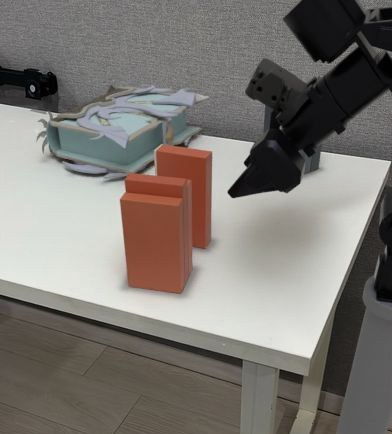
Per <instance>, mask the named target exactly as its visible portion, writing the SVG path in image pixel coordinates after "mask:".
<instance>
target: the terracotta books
mask: <svg viewBox="0 0 392 434" xmlns="http://www.w3.org/2000/svg"><path fill="white" fill-rule="evenodd" d="M124 190H125V192H124V193H123V195H122V196H120V198H119V206H120V215H121V226H122V235H123V246H124V257H125V265H126V275H127V276H126V277H127V285H128V287H131V288H138V289H146V290H152V291H159V292H166V293H173V294H180V295H181V294H182V292H183V290H184V288H185V286H186V284H187V282H188V279H189V277H190V275H191V273H192V271H193V246H192V181H191V180H188V179H184V178H174V177H164V176H155V174H143V173H129V175H128V176H125V178H124Z"/></svg>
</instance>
